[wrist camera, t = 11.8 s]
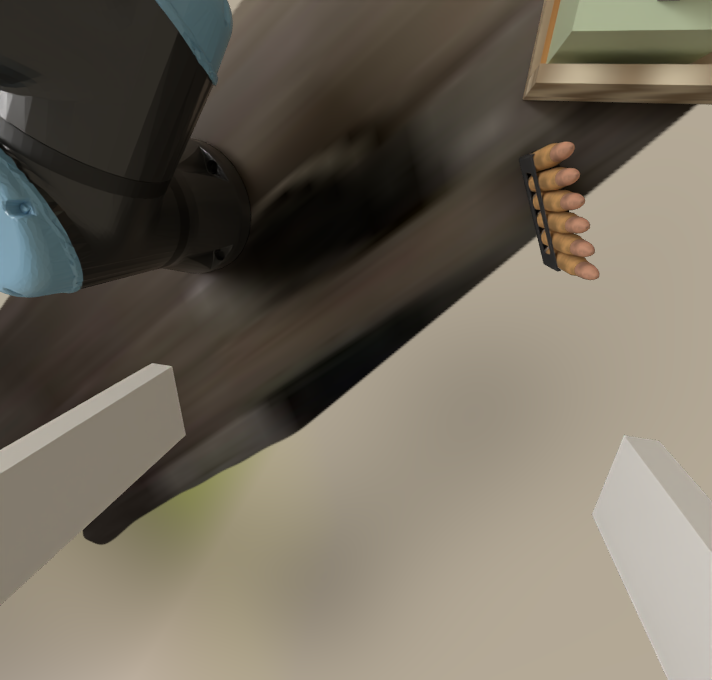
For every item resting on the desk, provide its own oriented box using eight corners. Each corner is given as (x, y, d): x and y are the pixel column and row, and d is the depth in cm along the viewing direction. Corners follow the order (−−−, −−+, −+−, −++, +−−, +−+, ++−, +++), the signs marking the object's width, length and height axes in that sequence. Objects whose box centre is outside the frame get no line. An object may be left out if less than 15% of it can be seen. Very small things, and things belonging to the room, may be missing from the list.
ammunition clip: (518, 158, 33) (552, 138, 22) (539, 149, 32) (585, 124, 22) (543, 264, 36) (585, 293, 25) (563, 258, 35) (614, 285, 25)
